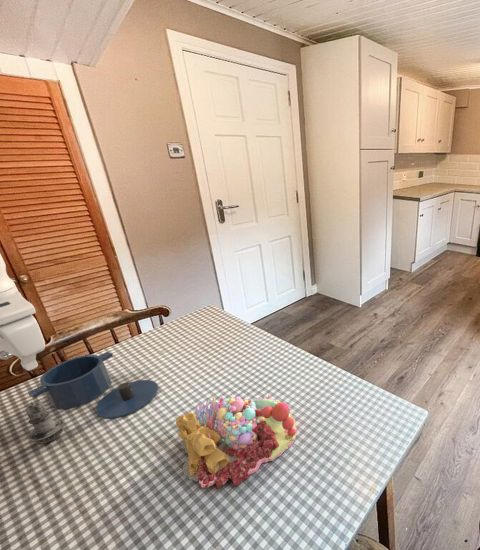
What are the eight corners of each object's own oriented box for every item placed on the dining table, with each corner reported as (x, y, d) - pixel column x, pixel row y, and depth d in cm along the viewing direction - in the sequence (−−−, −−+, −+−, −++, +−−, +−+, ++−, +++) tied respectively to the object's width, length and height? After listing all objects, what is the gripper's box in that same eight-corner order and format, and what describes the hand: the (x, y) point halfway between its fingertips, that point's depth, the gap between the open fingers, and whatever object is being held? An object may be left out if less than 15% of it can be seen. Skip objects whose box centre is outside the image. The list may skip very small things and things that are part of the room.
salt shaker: (66, 426, 76) (47, 388, 71) (71, 439, 72) (51, 400, 68) (33, 442, 71) (10, 403, 67) (36, 456, 68) (13, 416, 63)
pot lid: (85, 411, 80) (78, 396, 78) (138, 378, 92) (132, 364, 90) (119, 427, 75) (112, 411, 73) (169, 390, 87) (165, 375, 85)
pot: (29, 410, 80) (15, 385, 77) (104, 368, 96) (95, 346, 93) (56, 424, 76) (43, 398, 73) (131, 378, 92) (122, 355, 88)
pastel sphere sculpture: (208, 516, 57) (198, 483, 53) (164, 443, 71) (154, 413, 67) (312, 430, 74) (309, 401, 71) (260, 385, 88) (255, 359, 85)
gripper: (-61, 303, 60) (-27, 360, 65) (-9, 322, 53) (25, 384, 58) (-15, 290, 66) (13, 344, 71) (38, 306, 59) (65, 364, 64)
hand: (19, 362), depth 64 cm, fingers open, 8 cm apart
